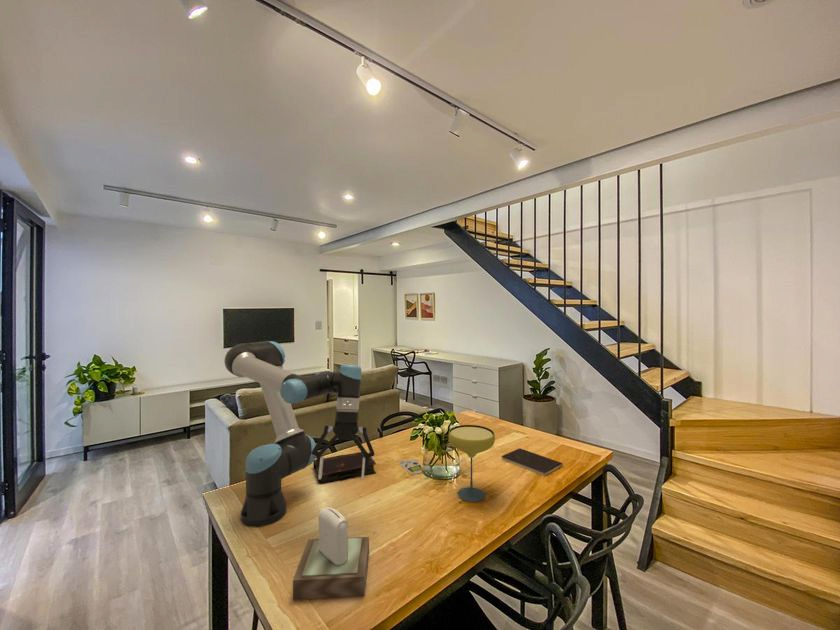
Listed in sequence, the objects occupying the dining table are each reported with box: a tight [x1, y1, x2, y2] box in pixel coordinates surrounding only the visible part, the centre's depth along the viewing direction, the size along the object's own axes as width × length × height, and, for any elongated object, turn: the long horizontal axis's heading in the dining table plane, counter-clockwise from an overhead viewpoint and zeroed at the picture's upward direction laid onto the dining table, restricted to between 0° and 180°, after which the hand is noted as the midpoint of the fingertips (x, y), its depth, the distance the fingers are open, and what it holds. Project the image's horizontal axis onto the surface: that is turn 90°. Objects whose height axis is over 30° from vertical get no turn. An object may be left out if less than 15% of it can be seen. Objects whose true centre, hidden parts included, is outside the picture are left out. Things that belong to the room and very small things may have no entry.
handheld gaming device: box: [397, 457, 423, 475], centre depth 166 cm, size 9×1×15 cm
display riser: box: [292, 536, 370, 601], centre depth 99 cm, size 18×16×5 cm
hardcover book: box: [501, 447, 563, 477], centre depth 170 cm, size 16×23×2 cm
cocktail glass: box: [448, 424, 496, 503], centre depth 141 cm, size 18×18×25 cm
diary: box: [312, 451, 377, 485], centre depth 162 cm, size 19×25×5 cm
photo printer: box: [318, 506, 349, 565], centre depth 99 cm, size 10×4×12 cm, turn 46°
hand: (341, 479), depth 115 cm, fingers open, 13 cm apart
